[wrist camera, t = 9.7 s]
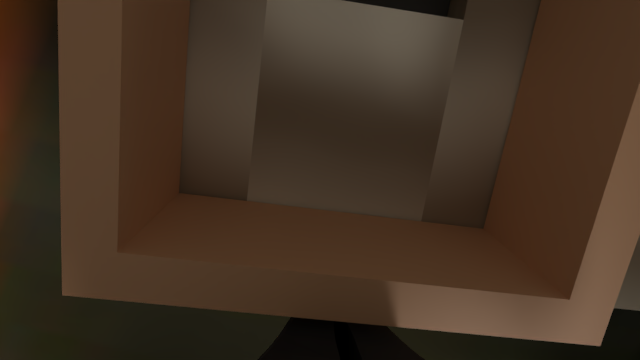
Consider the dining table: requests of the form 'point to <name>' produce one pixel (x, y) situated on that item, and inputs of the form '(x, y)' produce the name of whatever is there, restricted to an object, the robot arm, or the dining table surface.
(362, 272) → the light brown open box
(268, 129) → the board
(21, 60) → the dining table surface
